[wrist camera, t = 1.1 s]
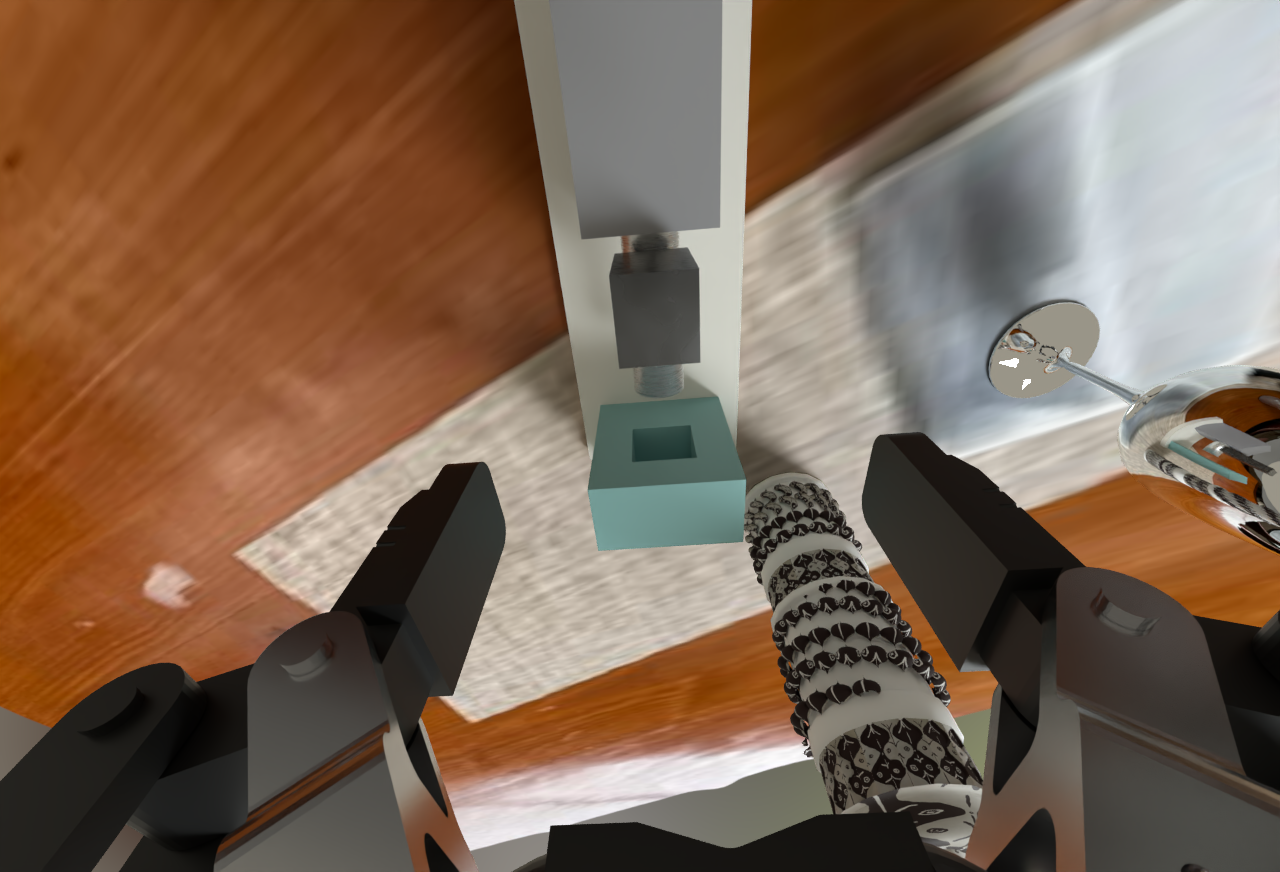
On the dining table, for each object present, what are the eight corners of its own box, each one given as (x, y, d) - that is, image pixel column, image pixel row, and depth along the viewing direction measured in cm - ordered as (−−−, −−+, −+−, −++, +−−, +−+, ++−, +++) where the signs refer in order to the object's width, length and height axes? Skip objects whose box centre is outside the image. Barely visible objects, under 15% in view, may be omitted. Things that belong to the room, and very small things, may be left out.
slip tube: (582, -106, 18) (549, -257, 12) (672, -116, 18) (692, -275, 11) (630, 378, 29) (627, 444, 22) (686, 374, 29) (701, 439, 22)
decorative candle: (734, 548, 45) (820, 900, 24) (736, 472, 40) (848, 826, 19) (828, 542, 45) (1001, 894, 23) (841, 465, 40) (1076, 818, 19)
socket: (600, 405, 35) (587, 490, 26) (718, 396, 35) (746, 479, 26) (607, 456, 38) (598, 550, 29) (717, 449, 37) (743, 541, 28)
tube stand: (503, -96, 22) (413, -266, 13) (750, -124, 22) (828, -320, 13) (591, 450, 39) (577, 538, 30) (733, 440, 39) (762, 527, 30)
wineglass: (1048, 407, 37) (1399, 621, 20) (964, 386, 36) (1258, 591, 19) (1123, 314, 33) (1640, 482, 16) (1031, 287, 32) (1478, 435, 15)
